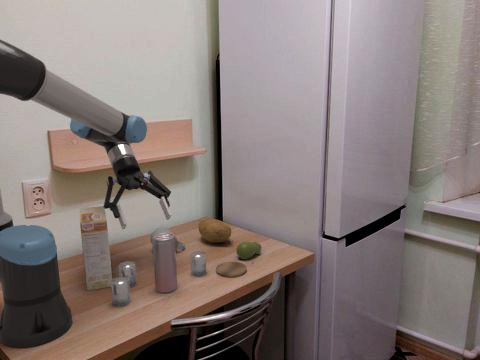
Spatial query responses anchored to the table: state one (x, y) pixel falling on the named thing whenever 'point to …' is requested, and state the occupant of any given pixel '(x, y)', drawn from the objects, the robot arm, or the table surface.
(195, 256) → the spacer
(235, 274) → the coaster
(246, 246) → the pear
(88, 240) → the coffeecake box
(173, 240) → the beverage can
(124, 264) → the cylinder
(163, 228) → the ceramic mug
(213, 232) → the potato
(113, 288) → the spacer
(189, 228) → the table surface
